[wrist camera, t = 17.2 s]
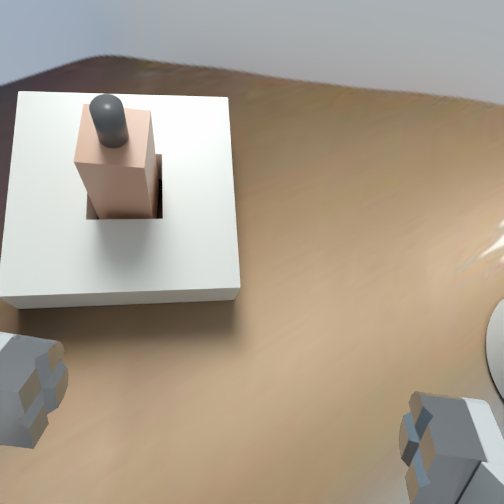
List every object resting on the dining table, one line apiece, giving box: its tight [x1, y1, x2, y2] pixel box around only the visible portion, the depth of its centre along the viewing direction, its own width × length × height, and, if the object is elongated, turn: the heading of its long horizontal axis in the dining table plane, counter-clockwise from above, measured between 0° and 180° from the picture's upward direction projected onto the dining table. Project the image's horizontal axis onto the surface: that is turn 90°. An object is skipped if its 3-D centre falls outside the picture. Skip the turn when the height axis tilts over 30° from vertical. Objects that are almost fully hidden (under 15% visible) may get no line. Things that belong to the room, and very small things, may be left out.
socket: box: [0, 91, 241, 309], centre depth 39 cm, size 18×18×4 cm
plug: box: [74, 94, 159, 220], centre depth 35 cm, size 4×4×15 cm
